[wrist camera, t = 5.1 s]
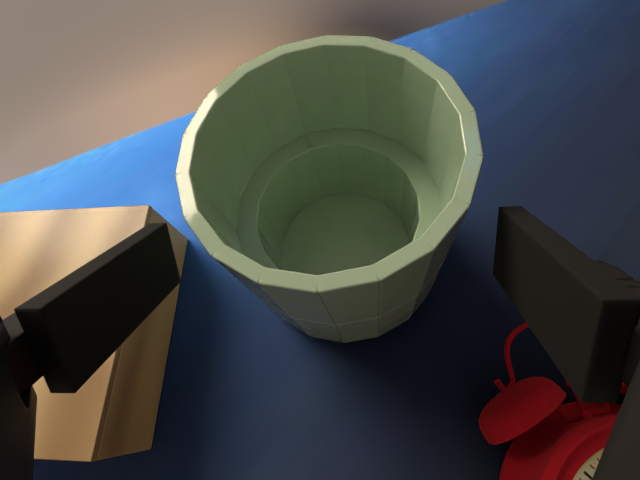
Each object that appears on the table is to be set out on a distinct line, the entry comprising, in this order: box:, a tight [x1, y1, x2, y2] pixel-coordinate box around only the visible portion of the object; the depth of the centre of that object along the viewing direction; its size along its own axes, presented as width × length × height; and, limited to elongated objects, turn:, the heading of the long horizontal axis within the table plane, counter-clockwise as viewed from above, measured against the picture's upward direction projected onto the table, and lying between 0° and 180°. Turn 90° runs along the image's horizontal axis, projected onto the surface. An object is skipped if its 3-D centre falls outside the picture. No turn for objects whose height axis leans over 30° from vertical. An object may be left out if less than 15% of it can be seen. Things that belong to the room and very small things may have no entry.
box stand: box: [0, 205, 188, 462], centre depth 23 cm, size 13×13×5 cm
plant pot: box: [175, 35, 483, 343], centre depth 19 cm, size 11×11×12 cm
